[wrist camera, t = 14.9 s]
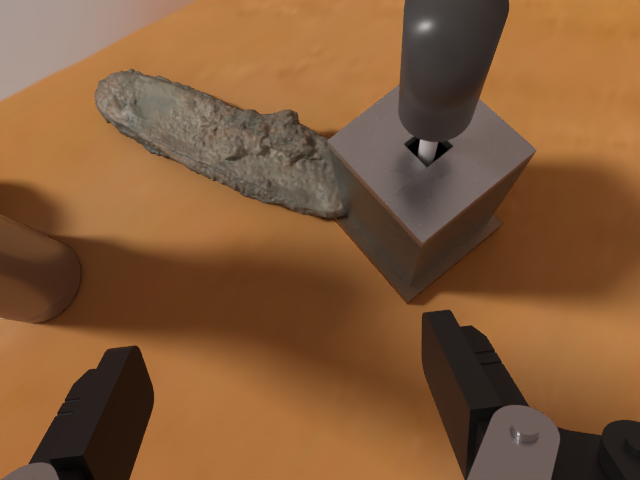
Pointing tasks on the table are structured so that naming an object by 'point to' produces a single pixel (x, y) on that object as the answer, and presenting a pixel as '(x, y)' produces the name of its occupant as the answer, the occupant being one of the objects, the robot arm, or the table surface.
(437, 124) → the lever
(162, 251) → the table surface
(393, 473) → the table surface
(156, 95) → the long grey stone
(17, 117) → the table surface
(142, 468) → the table surface
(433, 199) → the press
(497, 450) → the robot arm
